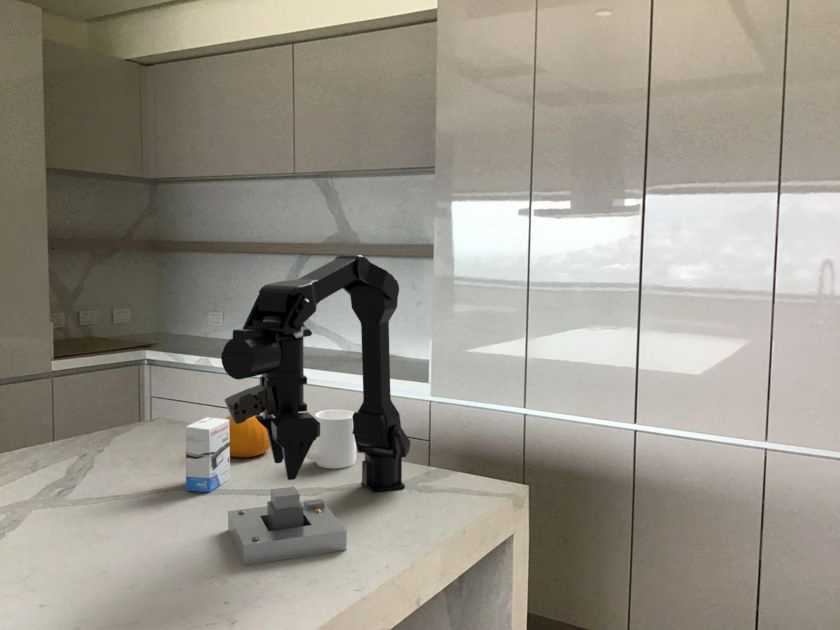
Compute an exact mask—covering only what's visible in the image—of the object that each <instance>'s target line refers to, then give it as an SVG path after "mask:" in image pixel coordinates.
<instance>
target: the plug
mask: <svg viewBox="0 0 840 630" xmlns="http://www.w3.org/2000/svg"><path fill="white" fill-rule="evenodd" d="M300 496H301V495H300V493H299V492H298V490H297V489H296V487H295V486H289V487H278V488H271V489H270V500H268V501H267V502H266V504H267V515H268V531H274V530H281V529H288V528H295V527H302V526H303V506H302V505H301V504H300V502H301V499H300V498H301V497H300Z"/></svg>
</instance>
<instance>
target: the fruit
mask: <svg viewBox="0 0 840 630" xmlns="http://www.w3.org/2000/svg"><path fill="white" fill-rule="evenodd" d="M260 415H261V413H260ZM260 415H258V416H260ZM255 416H256V415H255ZM255 416H253V417H251V418H248V419H246V421H245V422H242V423H239V424H235V422H234V420H233V419H232V418H231V415H230V414H229V415H228V416H227V417H226V418H225V419H229V438H230V439H229V440H230V457H235V458H251V457H256V456H257V457H258V456H260V455H261V454H264V453H266V452H267V451H268V450H269V449H271V446H270V441H269V437H268V434H267V430H266V428H265V427H264V426H263V425H262V424H261V423H260V422H259V421H258V420H257V419H256V418H255Z"/></svg>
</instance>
